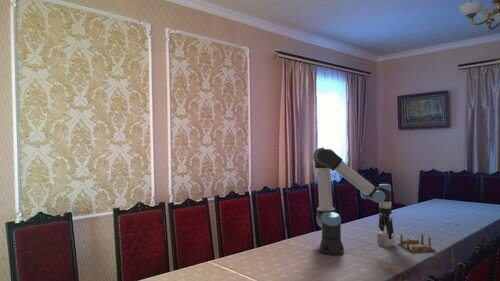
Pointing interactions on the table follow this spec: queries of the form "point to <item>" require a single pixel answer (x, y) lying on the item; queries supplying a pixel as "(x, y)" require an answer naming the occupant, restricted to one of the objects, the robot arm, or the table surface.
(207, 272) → the table surface
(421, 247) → the tray
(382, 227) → the container
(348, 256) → the table surface
